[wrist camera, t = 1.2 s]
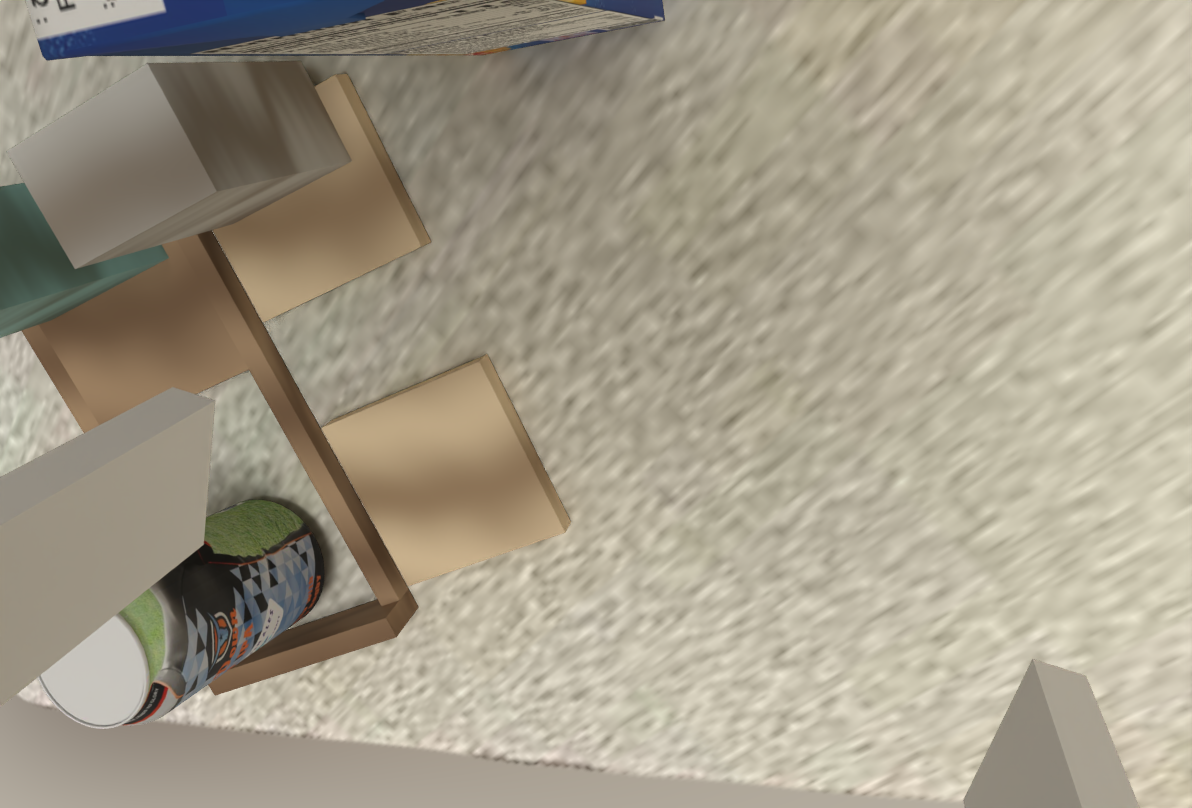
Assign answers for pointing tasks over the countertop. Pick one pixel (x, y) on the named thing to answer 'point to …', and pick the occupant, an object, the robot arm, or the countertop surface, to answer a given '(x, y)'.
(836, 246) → the countertop surface
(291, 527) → the beverage can
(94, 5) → the beverage box
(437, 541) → the broken strip
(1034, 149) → the countertop surface
